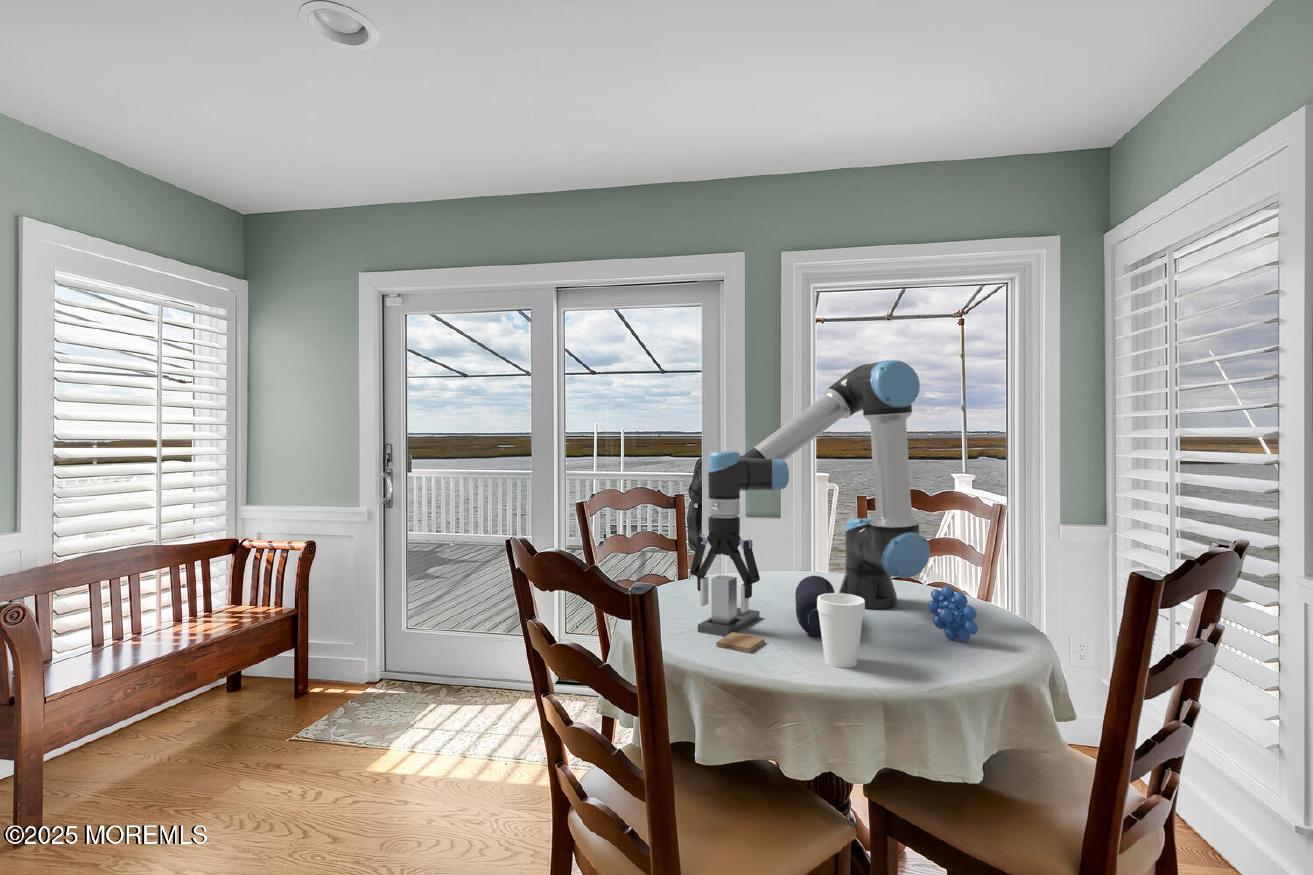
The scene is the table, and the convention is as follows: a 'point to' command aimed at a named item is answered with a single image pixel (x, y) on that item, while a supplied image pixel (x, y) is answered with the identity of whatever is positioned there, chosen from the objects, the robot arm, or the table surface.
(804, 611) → the portable speaker
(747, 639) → the pad
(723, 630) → the dark grey slotted board
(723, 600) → the tall grey prism
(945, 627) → the grapes
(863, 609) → the foam cup
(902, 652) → the table surface
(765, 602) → the table surface
